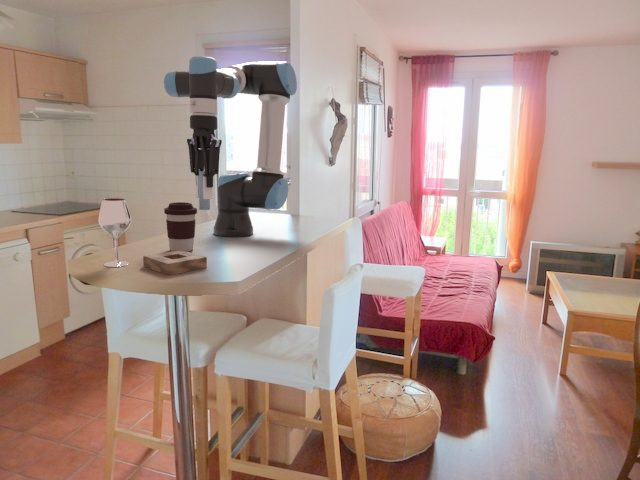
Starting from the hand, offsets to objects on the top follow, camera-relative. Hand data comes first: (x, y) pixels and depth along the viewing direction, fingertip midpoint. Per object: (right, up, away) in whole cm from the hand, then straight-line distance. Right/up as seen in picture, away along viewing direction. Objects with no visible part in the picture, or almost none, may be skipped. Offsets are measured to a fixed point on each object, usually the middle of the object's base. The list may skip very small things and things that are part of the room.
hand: (204, 198), depth 140 cm
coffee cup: (-11, -16, +14) cm, 24 cm away
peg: (0, -3, +1) cm, 3 cm away
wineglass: (-23, -19, -7) cm, 30 cm away
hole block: (-6, -20, -8) cm, 22 cm away
